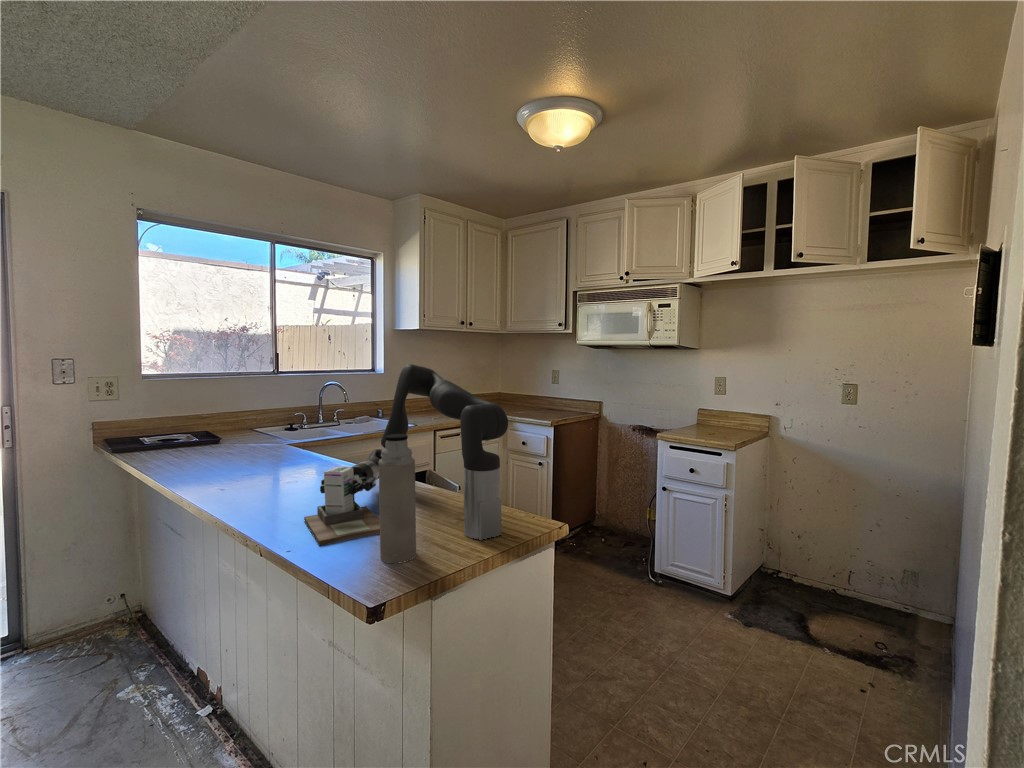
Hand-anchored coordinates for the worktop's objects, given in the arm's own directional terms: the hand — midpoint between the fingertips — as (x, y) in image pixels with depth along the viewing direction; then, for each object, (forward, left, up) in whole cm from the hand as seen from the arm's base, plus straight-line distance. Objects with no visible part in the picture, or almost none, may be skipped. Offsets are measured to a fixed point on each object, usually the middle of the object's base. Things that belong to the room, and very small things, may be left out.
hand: (336, 490), depth 133 cm
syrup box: (+1, -1, -9) cm, 9 cm away
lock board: (-4, -1, -9) cm, 10 cm away
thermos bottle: (-30, -7, -9) cm, 32 cm away
